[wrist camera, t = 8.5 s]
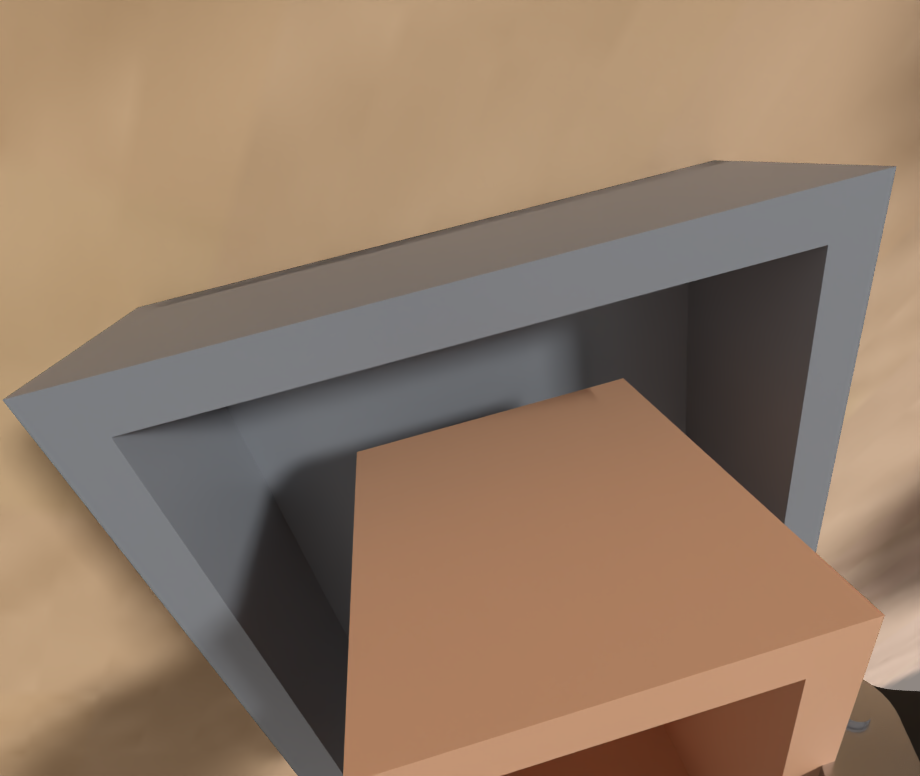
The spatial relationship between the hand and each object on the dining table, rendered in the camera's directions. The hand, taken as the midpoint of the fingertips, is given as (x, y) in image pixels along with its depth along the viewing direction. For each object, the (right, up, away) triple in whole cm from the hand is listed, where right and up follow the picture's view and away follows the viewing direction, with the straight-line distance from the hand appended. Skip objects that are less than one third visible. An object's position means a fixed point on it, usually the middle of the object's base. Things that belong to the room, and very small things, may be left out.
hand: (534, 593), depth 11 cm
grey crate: (-1, +2, +4) cm, 4 cm away
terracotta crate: (0, +1, +1) cm, 1 cm away
